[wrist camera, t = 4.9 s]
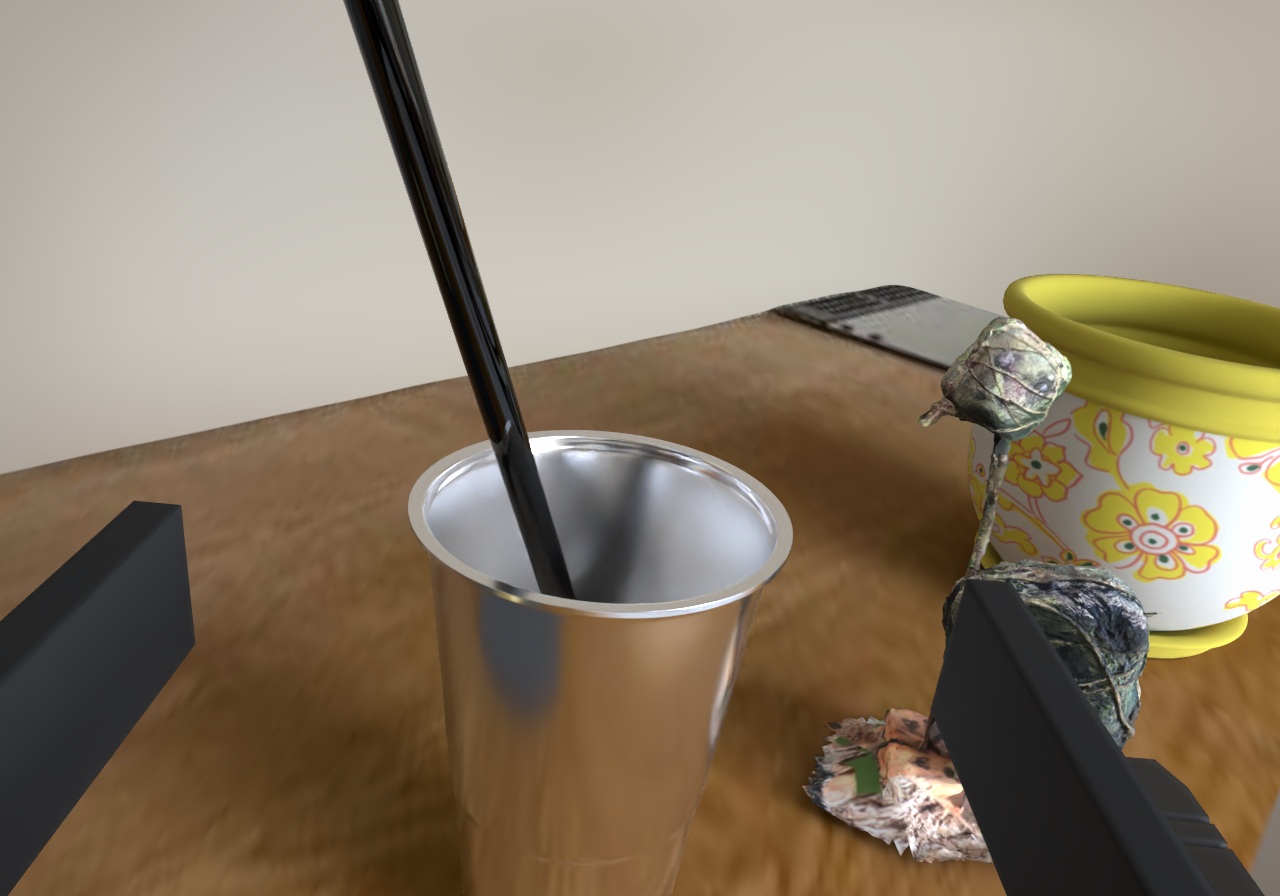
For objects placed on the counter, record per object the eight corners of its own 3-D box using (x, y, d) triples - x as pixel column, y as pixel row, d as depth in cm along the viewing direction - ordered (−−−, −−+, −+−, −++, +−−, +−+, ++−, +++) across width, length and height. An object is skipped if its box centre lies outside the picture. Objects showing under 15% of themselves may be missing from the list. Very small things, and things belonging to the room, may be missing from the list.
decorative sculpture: (1077, 962, 32) (1305, 403, 24) (772, 800, 37) (876, 300, 29) (1116, 819, 38) (1307, 340, 30) (851, 698, 44) (953, 265, 36)
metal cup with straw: (324, 1095, 26) (256, -259, 14) (424, 789, 36) (434, -134, 24) (726, 1132, 26) (1009, -173, 14) (710, 817, 36) (863, -86, 24)
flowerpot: (956, 654, 48) (1045, 339, 41) (923, 500, 64) (983, 257, 57) (1342, 726, 45) (1502, 405, 39) (1206, 547, 62) (1302, 300, 55)
